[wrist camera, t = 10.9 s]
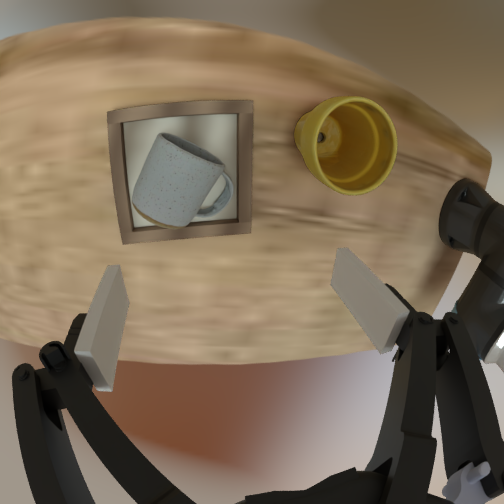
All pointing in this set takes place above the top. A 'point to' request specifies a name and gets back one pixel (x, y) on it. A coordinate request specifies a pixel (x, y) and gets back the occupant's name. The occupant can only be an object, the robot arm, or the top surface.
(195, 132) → the coaster tray
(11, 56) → the top surface
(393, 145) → the plant pot
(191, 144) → the ceramic mug
